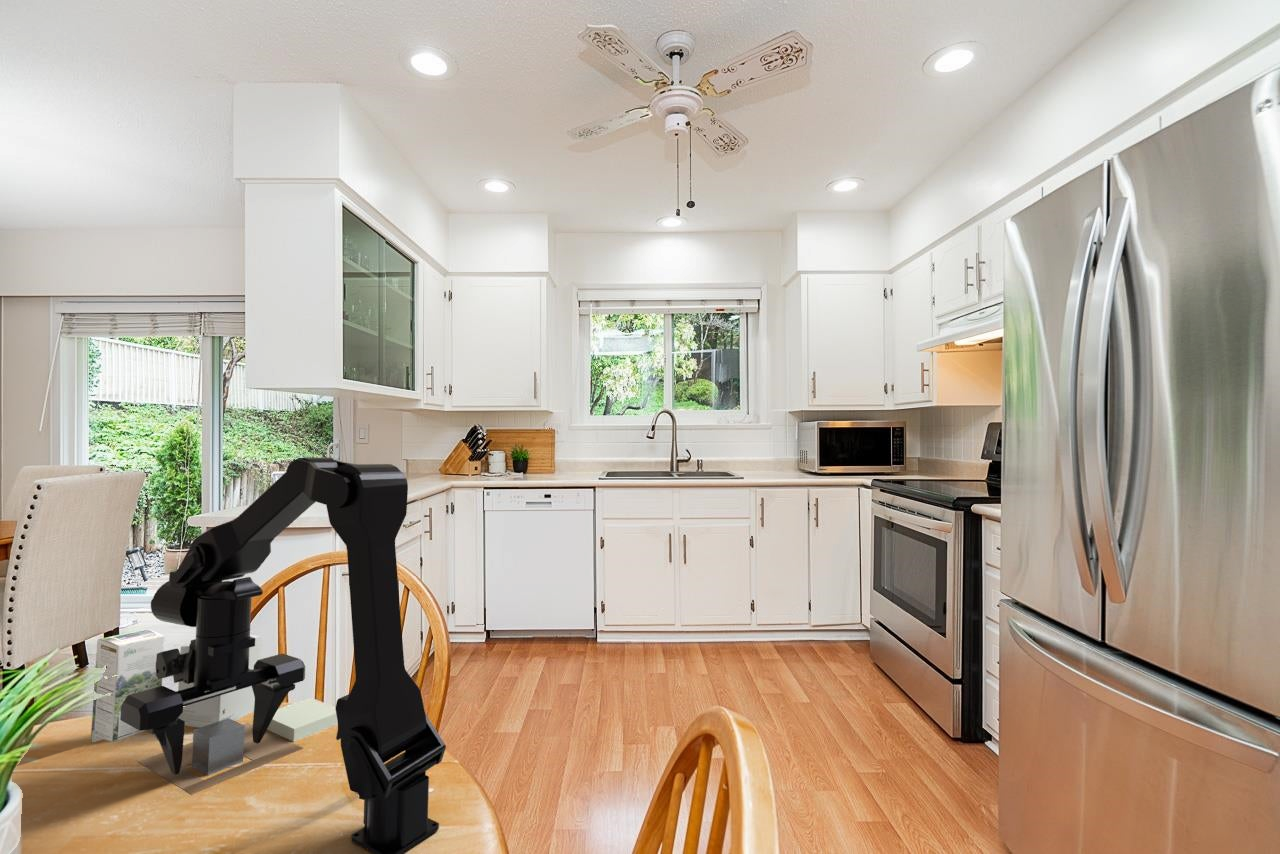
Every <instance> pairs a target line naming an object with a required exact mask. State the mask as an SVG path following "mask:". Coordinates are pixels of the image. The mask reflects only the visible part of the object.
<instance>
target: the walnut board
mask: <svg viewBox="0 0 1280 854" xmlns="http://www.w3.org/2000/svg"><path fill="white" fill-rule="evenodd" d="M242 724H243V725H245V730H244V755H243V757H246V758H248V759H249V760H250V761H248V762H245V763H243V764H240V765H237V766H235V767H233V768H230V769H228V770H226V771H223V772H220V773H218V774H216V775H213V776H210V777H208V778H205V779H203V778H201V777H199V776H197V775H196V774H194V773H192V772H191V771H189V770H187V769H185V767H186V766H189V765H192V753H193V741H191V742H189V743H186V744H183V754H182V764H181V768H180V772H179V774H176V775H175V774H173V773H172V772H171V770H170V767H169V765H168V762H167V760H166V757H165V755H164V752H163V751H162V752H161V753H157V754H154V755H152V756H149V757H146V758H143V759H140V760H138V761H137V763H139V764H141V765H142V766H144V767H145V768H147V769H149V770H151V771H152V772H154V773H156V774H157V775H159V776H160V777H162V778H163V779H164V780H166V781H168V782H170V783H171V784H174V785H175V786H176V787H178V788H180V789H181V790H183V791H185V792H186V793H188V794H190V795H194V794H196V793H199V792H201V791H203V790H206V789H208V788H212V787H213V786H216V785H219V784H221V783H223V782H225V781H228V780H230V779H233V778H236V777H238V776H241V775H243V774H245V773H247V772H250V771H252V770H254V769H255V770H256V769H257V768H259V767H262V766H264V765H267V764H269V763H271V762H274V761H276V760H278V759H279V760H280V759H281V758H284V757H285V756H289V755H290V754H293V753H296V752H299V751H301V750H303V749H304V747H303V746H300V745H298V744H295V743H293V742H292V741H290V740H288V739H287V740H286V739H284V738H282V737H280V736H277V735H276V734H273V733H271V732H270V731H269V732H268V730H266V732H265V734H264V736H263V738H262V740H261V742H260V743H254V742H253V732H252V729H253V724H250V723H249V722H246V723H242Z"/></svg>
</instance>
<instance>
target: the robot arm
mask: <svg viewBox="0 0 1280 854" xmlns="http://www.w3.org/2000/svg"><path fill="white" fill-rule="evenodd" d="M408 485H409V483H408V479H407V477H406V475H405V473H404V472H402V471H401V470H400V469H399V468H398V467H397V466H396V465H393V464H390V463H389V464H388V463H380V464H379V463H376V464H375V463H374V464H373V463H369V464H365V463H364V464H361V463H358V464H357V463H352V462H351V463H350V462H345V461H340V460H337V459H334V458H331V457H299V458H297V459H295V460H292V461H290V463H289V464H288V465H287V469H286V472H284V473H283V474H282V475H281V476H280V477H278V479H277V480H275V482H273V483H272V484H271V485H270V486H269V487H268V488H267V489H266V490H265V491H264V492H263V493H262V494H260V495H259V497H257V498H256V499H255V500H254V501H253V502H252V503H251V504H250V505H249V506H247V508H246V509H244V510H243V511H242V512H241V513H240V514H239V515H238V516H236V517H235V518H233V519H232V520H229V521H227V522H224V523H221V524H219V525H215V526H213V527H211V528H209V529H207V530H206V531H204V532H202V533H201V534H199V535H197V537H195V538H194V540H193V541H192V542H191V544H190V545H189V549H187V552H186V554H185V556H184V558H183V559H182V561H181V563H180V564H179V566H178V568H177V569H176V570H174V571H170V572H169V575H168V576H169V577H168V578H169V579H168V581H166V582H164V583H163V584H161V585H160V587H159V588H158V589H157V590H156V592H155V593H154V594H153V597H152V599H151V601H150V611H151V612H152V613H151V614H152V615H153V616H154V617H155V618H156V619H157V620H159V621H160V622H165V623H170V624H174V625H175V624H176V625H180V626H186V627H190V628H195V639H190V643H189V644H190V645H189V652H188V653H185V654H180V650H179V648H173V649H169V650H164V651H163V652H160V653H158V654H157V657H156V676H157V678H158V679H162V680H163V679H164V678H169V677H173V683H174V684H177V683H179V682H181V681H183V682H184V683H186V684H190V683H193V684H194V686H193V687H191V688H187V689H184V690H180V691H178V690H177V691H176V690H173V689H172V688H171V689H170V688H168V687H166V686H164V685H162V686H160V687H156V688H153V689H149V690H145V691H141V692H138V693H134V694H130V695H128V697H127V698H126V699H125V701H124V702H123V704H122V705H121V717H120V720H121V721H123V722H125V723H127V724H129V725H130V726H132V727H134V728H136V729H138V730H139V731H141V730H146V731H147V732H149V733H151V734H153V735H155V738H156V740H157V741H158V742H159V745H160V747H161V750H162V753H163V752H164V755H165V757H166V760H167V762H168V765H169V767H170V770H171V772H172V773H173V774H175V775H176V774H179V772H180V768H181V764H182V754H183V745H184V739H185V721H183V720H181V719H179V718H178V717H179V716H180V715H181V714H182V713H183V706H187V705H190V704H193V703H197V702H200V701H203V700H207V699H210V698H213V697H217V696H220V695H223V694H226V693H230V692H233V691H236V690H240V689H243V688H246V687H250V686H252V689H253V693H254V696H255V704H254V711H253V718H252V725H253V729H252V732H253V742H254V743H260V742H261V740H262V738H263V736H264V734H265V732H266V731H268V730H267V728H268V726H269V724H270V723H271V721H272V719H273V717H274V715H275V713H276V711H277V710H278V709H279V708H281V707H280V706H281V705H282V704H283V702H284V700H285V699H286V697H287V696H288V694H289V693H290V692H291V691H294V690H295V689H296V684H297V683H301V682H303V681H304V680H305V679H306V665H305V663H304V661H303V660H302V659H301V658H298V657H294V656H291V655H288V654H286V653H279V654H276V655H272V656H269V657H268V656H267V657H265V658H261V659H260V660H257V662H256V663H255V665H254V670H250V669H249V648H250V647H253V646H255V638H253V637H250V635H251V622H252V621H251V618H252V599H253V598H254V597H260V596H262V595H263V593H264V591H263V589H262V588H261V587H260V586H259V585H258V584H256V583H255V582H254V581H253V579H252V577H250V576H246V575H247V574H252V573H255V572H256V571H258V570H259V568H260V567H261V566H262V564H263V563H264V562H265V561H266V559H267V558H268V557H269V555H270V554H271V553H272V545H271V544H272V542H273V541H274V540H275V538H276V537H278V535H280V534H281V533H282V532H283V531H284V530H285V529H287V528H288V527H289V526H290V525H291V524H293V522H295V520H298V518H299V517H300V516H302V514H304V513H305V512H306V511H307V510H308V509H309V508H311V507H312V506H313V505H314V504H315V503H320V504H323V505H325V506H326V510H327V516H328V521H329V524H330V526H331V527H332V529H333V530H334V531H335V532H336V534H337V536H339V538H340V539H341V541H342V542H343V543H344V544H345V546H346V556H347V567H348V568H347V569H348V584H349V585H348V586H349V595H350V598H349V599H350V613H351V626H352V628H351V629H352V630H351V631H352V639H353V640H352V642H353V643H352V644H353V658H354V671H355V673H354V674H355V679H354V684H353V685H352V687H351V690H350V692H349V694H348V693H347V694H346V695H344V696H342V697H340V698H337V700H336V703H335V707H336V708H335V709H336V715H337V721H338V725H337V732H336V738H335V739H336V740H337V741H339V740H340V748H341V752H342V753H341V754H342V758H343V762H344V763H343V764H344V767H345V772H346V777H347V782H348V785H349V790H350V791H351V792H354V793H357V795H358V799H359V800H363V801H364V802H363V825H364V827H362V828H361V829H359V830H357V831H355V832H353V833H352V834H351V836H350V837H351V838H350V840H351V842H352V843H354V844H356V845H358V846H360V847H361V848H364V849H365V850H367V851H368V852H370V853H372V854H403V853H405V852H406V851H408V850H409V849H411V848H412V847H414V846H416V845H417V844H418V843H420V842H421V841H423V840H425V839H426V838H428V837H430V835H432V834H434V833H435V832H436V831H438V830H440V823H439V822H437V821H435V820H433V819H431V818H429V794H430V793H429V792H430V790H429V788H430V787H429V785H430V777H429V776H428V775H426V774H427V773H426V772H427V771H428V770H430V769H431V768H432V767H434V766H436V765H439V764H440V763H441V762H442V761H443V757H444V755H445V753H446V752H445V751H446V749H447V746H446V743H445V742H444V741H443V739H442V738H441V735H440V734H439V733H438V731H437V730H436V728H435V726H434V725H433V723H432V721H431V720H430V718H429V717H428V716H427V714H426V710H425V705H424V701H423V696H422V691H421V689H420V687H419V685H418V684H417V683H416V681H414V678H412V676H411V675H410V674H409V672H408V671H407V670H406V666H405V657H404V655H405V654H404V644H403V630H402V616H401V602H400V591H399V580H398V579H399V578H398V576H399V575H398V566H397V565H398V564H397V552H396V551H397V550H396V538H397V537H398V534H399V532H400V529H401V527H402V526H403V523H404V521H405V518H406V516H407V513H408V512H407V511H408V493H409V492H408V491H409V489H408V488H409V487H408ZM244 576H246V577H244ZM231 580H232V581H231ZM209 690H210V691H209ZM205 691H207V692H205Z"/></svg>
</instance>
